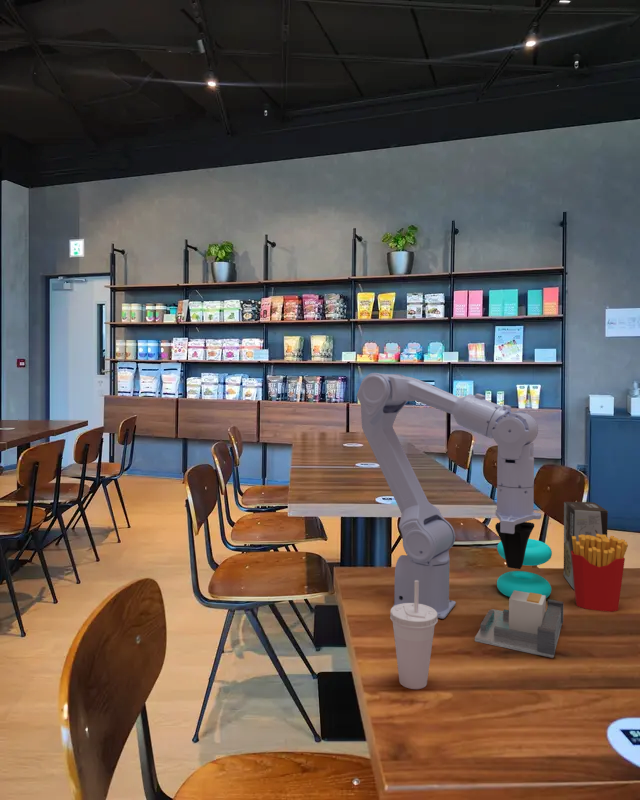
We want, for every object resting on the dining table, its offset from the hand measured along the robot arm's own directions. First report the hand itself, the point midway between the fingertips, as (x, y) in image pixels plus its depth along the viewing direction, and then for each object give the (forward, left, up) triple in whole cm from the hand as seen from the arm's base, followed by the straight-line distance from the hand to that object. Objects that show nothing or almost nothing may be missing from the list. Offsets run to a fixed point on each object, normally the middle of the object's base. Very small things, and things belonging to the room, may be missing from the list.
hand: (514, 567), depth 93 cm
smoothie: (-9, -24, -11) cm, 28 cm away
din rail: (+1, -1, -10) cm, 10 cm away
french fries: (+12, +18, -11) cm, 24 cm away
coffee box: (+9, +30, -11) cm, 33 cm away
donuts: (-1, +18, -11) cm, 21 cm away
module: (+2, -1, -10) cm, 10 cm away
